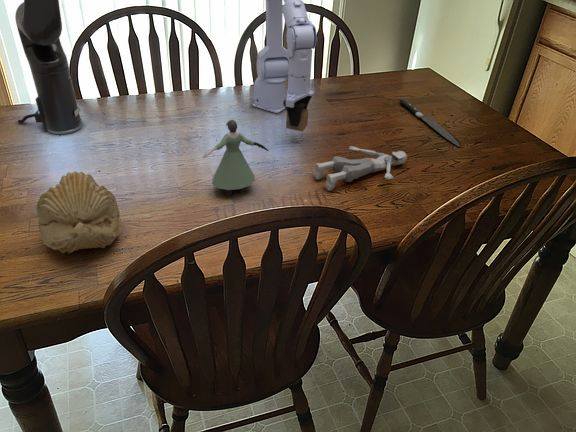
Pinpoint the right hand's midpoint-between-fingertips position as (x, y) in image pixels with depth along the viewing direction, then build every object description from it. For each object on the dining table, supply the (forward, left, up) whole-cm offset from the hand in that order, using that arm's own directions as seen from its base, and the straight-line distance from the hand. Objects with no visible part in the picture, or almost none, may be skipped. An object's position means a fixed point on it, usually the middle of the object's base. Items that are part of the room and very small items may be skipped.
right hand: (297, 122), depth 136 cm
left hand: (-71, +2, +33) cm, 79 cm away
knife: (+27, +34, -6) cm, 44 cm away
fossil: (-13, -62, -6) cm, 64 cm away
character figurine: (+1, -29, -6) cm, 30 cm away
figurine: (+23, -5, -6) cm, 25 cm away
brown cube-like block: (0, 0, -1) cm, 1 cm away
